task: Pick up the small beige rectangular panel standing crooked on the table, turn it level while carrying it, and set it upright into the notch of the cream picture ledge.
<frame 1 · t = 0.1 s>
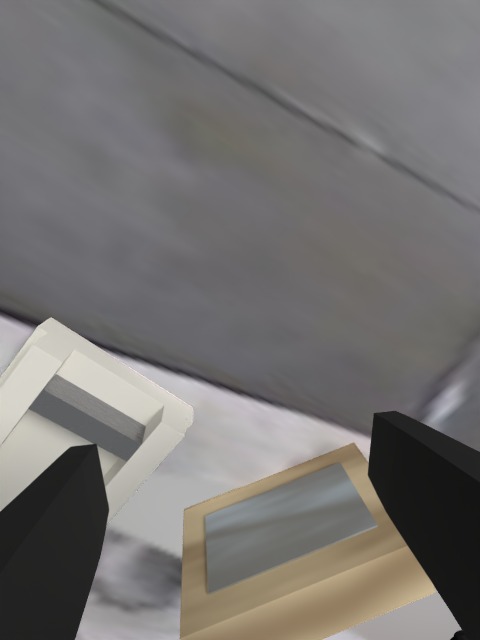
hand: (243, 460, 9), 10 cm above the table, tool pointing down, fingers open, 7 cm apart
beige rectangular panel: (278, 496, 22), on the table
ledge: (27, 490, 19), on the table
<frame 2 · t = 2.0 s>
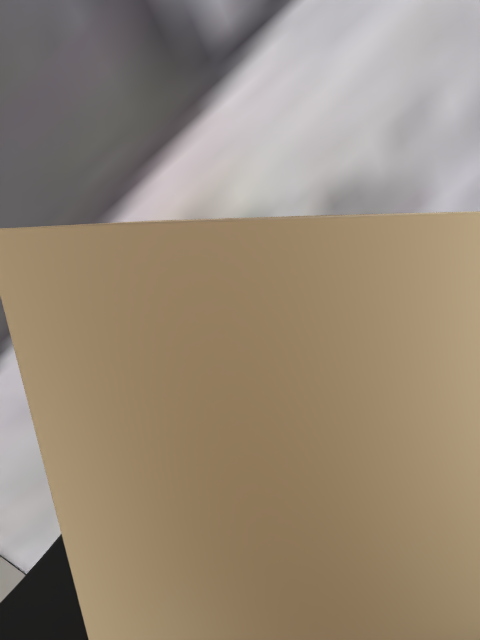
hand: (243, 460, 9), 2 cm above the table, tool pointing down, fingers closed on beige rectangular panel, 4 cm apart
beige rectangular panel: (236, 416, 10), on the table, touching gripper
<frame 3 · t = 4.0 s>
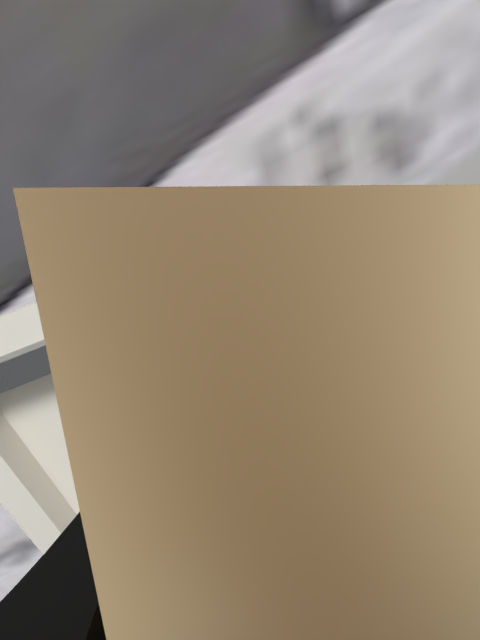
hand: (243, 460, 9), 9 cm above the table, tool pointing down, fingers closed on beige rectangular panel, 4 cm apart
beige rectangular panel: (236, 409, 10), point 7 cm above the table, touching gripper
ledge: (117, 462, 19), on the table
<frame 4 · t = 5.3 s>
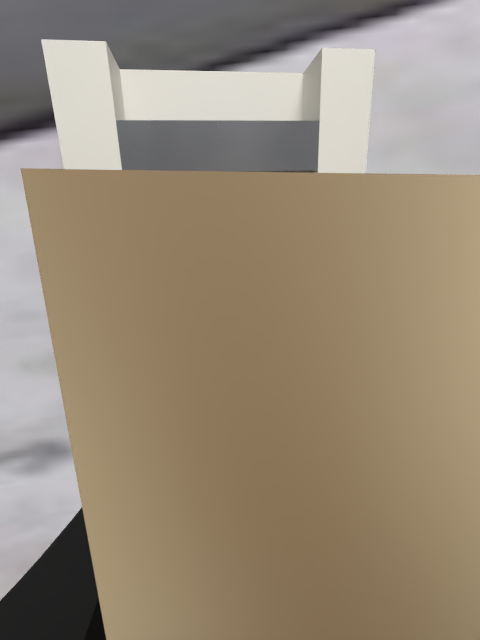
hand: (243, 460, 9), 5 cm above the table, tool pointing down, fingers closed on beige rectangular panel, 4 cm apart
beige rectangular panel: (236, 407, 10), point 3 cm above the table, touching gripper
ledge: (225, 369, 14), on the table
when the fingers open (4 cm above the table, at t = 6.3 s): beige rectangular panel stays where it is, resting on ledge.
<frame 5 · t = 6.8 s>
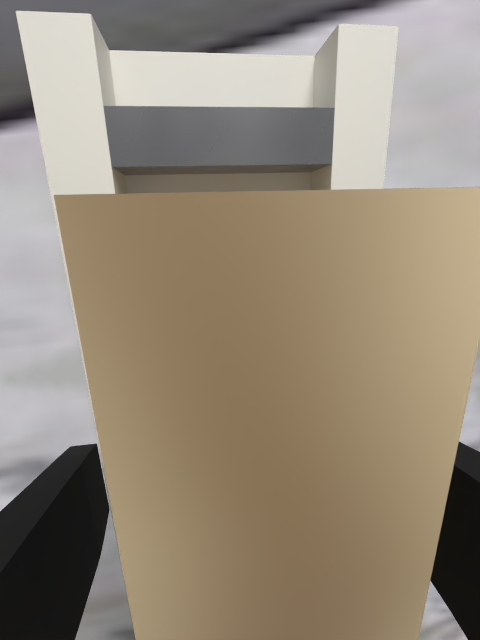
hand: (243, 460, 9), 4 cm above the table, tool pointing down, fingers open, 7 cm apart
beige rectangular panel: (232, 395, 11), point 1 cm above the table, touching ledge
ledge: (227, 380, 13), on the table
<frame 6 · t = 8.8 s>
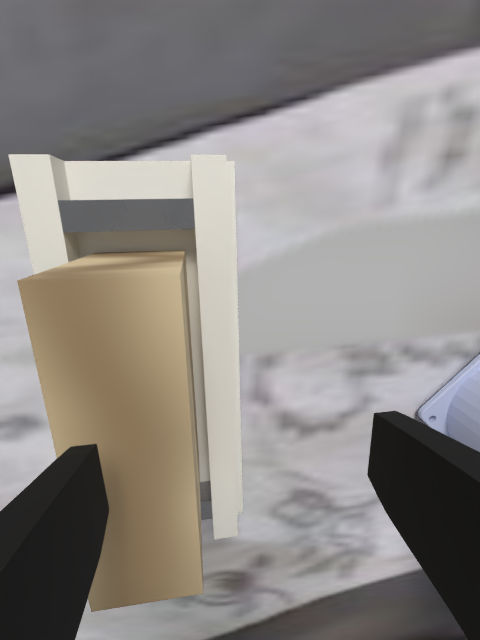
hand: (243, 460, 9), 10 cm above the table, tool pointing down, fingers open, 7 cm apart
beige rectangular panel: (153, 370, 17), point 1 cm above the table, touching ledge
ledge: (155, 362, 18), on the table
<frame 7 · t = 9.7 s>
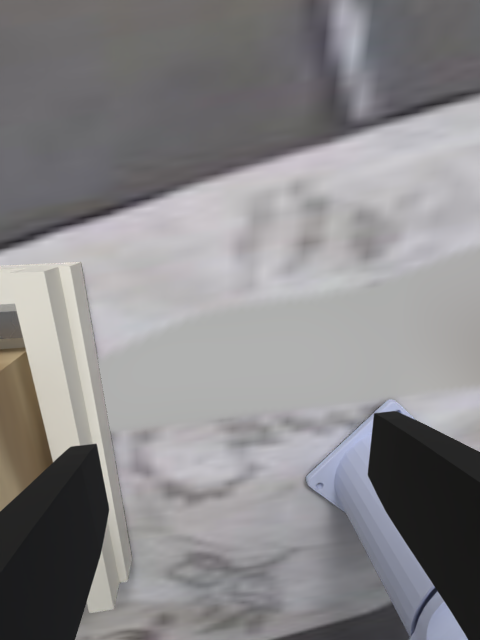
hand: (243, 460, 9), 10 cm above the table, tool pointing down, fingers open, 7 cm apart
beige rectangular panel: (15, 455, 17), point 1 cm above the table, touching ledge
ledge: (29, 441, 19), on the table
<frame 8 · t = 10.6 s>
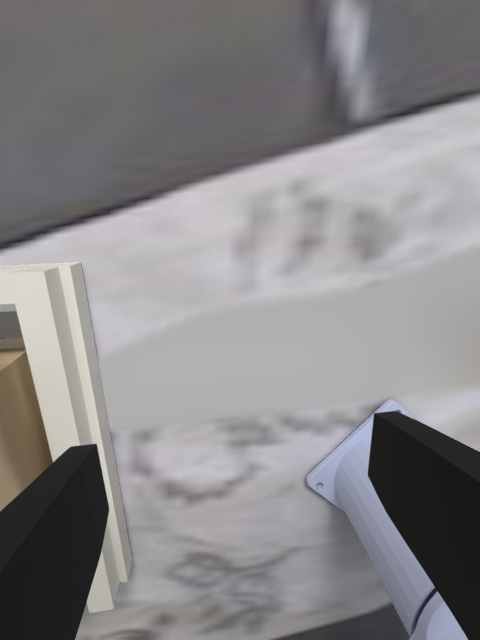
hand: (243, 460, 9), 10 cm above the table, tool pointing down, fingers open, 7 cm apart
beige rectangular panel: (15, 455, 17), point 1 cm above the table, touching ledge
ledge: (29, 441, 19), on the table
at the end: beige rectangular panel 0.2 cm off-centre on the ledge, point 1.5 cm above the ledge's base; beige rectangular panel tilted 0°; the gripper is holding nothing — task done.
